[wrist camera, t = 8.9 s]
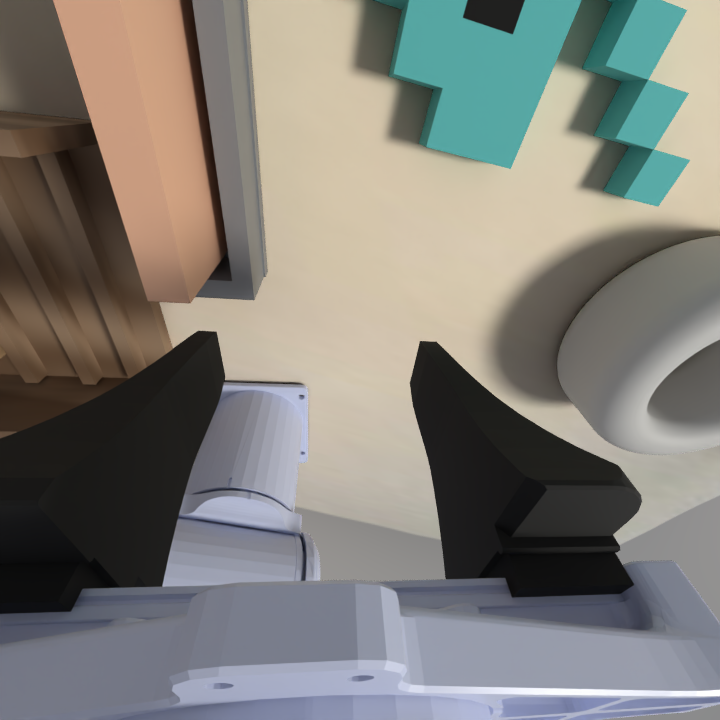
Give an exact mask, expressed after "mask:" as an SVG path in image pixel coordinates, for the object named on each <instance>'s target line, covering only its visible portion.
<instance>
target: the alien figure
mask: <svg viewBox="0 0 720 720" xmlns="http://www.w3.org/2000/svg"><path fill="white" fill-rule="evenodd" d="M373 1H377V2H380V3H383V4H386V5H389V6H392V7H395V8H398V9H401V10H402V12H401V17H400V22H399V27H398V31H397V36H396V41H395V46H394V51H393V56H392V61H391V66H390V71H389V77H393V78H396V79H400V80H403V81H406V82H410V83H413V84H417V85H420V86H424V87H427V88H431V89H433V92H432V96H431V100H430V104H429V107H428V111H427V115H426V118H425V122H424V126H423V130H422V133H421V137H420V141H419V144H421V145H423V146H425V147H428V148H432V149H436V150H440V151H444V152H447V153H451V154H455V155H459V156H463V157H467V158H471V159H475V160H479V161H483V162H486V163H490V164H494V165H498V166H502V167H506V168H510V169H511V167H512V164H513V162H514V160H515V157H516V155H517V153H518V150H519V148H520V145H521V143H522V141H523V138H524V136H525V134H526V131H527V129H528V126H529V124H530V122H531V119H532V117H533V115H534V112H535V110H536V108H537V105H538V103H539V100H540V98H541V96H542V93H543V91H544V89H545V86H546V84H547V81H548V79H549V77H550V74H551V72H552V70H553V67H554V65H555V62H556V60H557V58H558V55H559V53H560V51H561V48H562V46H563V43H564V41H565V39H566V36H567V34H568V32H569V29H570V27H571V24H572V22H573V20H574V17H575V15H576V13H577V10H578V8H579V5H580V3H581V1H582V0H373ZM606 1H609V2H612V5H611V7H610V9H609V11H608V13H607V15H606V18H605V20H604V22H603V24H602V26H601V28H600V31H599V33H598V35H597V37H596V39H595V42H594V44H593V46H592V48H591V50H590V52H589V55H588V57H587V59H586V61H585V63H584V65H583V68H582V69H584V70H588V71H591V72H594V73H597V74H600V75H603V76H606V77H609V78H612V79H615V80H618V81H621V84H620V86H619V88H618V90H617V92H616V94H615V95H614V97H613V99H612V101H611V103H610V105H609V107H608V109H607V111H606V113H605V115H604V116H603V118H602V120H601V122H600V124H599V126H598V128H597V130H596V132H595V134H594V136H597V137H600V138H604V139H607V140H610V141H614V142H617V143H621V144H624V145H628V146H629V147H628V149H627V151H626V152H625V154H624V156H623V158H622V159H621V161H620V163H619V164H618V166H617V168H616V170H615V171H614V173H613V175H612V176H611V178H610V180H609V182H608V183H607V185H606V187H605V188H604V190H603V191H605V192H608V193H611V194H614V195H617V196H620V197H623V198H627V199H631V200H635V201H638V202H642V203H646V204H650V205H654V206H659V205H660V203H661V202H662V200H663V199H664V197H665V196H666V194H667V193H668V191H669V190H670V189H671V187H672V186H673V184H674V183H675V181H676V180H677V178H678V177H679V176H680V174H681V173H682V171H683V170H684V168H685V167H686V165H687V164H688V162H689V161H690V160H688V159H684V158H681V157H677V156H674V155H670V154H667V153H664V152H660V151H657V150H654V148H655V147H656V145H657V143H658V142H659V140H660V139H661V137H662V135H663V134H664V132H665V131H666V129H667V127H668V126H669V124H670V123H671V121H672V119H673V118H674V116H675V115H676V113H677V111H678V110H679V108H680V107H681V105H682V103H683V102H684V100H685V99H686V97H687V95H688V94H689V93H686V92H683V91H680V90H677V89H674V88H671V87H668V86H665V85H662V84H659V83H656V82H653V81H650V80H648V79H649V78H650V76H651V74H652V72H653V70H654V69H655V67H656V65H657V63H658V61H659V60H660V58H661V56H662V54H663V52H664V51H665V49H666V47H667V45H668V43H669V42H670V40H671V38H672V36H673V34H674V33H675V31H676V29H677V27H678V25H679V24H680V22H681V20H682V18H683V16H684V15H685V13H686V11H687V10H685V9H683V8H680V7H678V6H675V5H672V4H670V3H667V2H665V1H662V0H606Z"/></svg>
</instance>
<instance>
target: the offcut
mask: <svg viewBox="0 0 720 720" xmlns="http://www.w3.org/2000/svg"><path fill="white" fill-rule="evenodd" d="M4 355H6V353H5V351H4V350H3V348H2V346H1V345H0V359H1V358H2V357H3V356H4Z"/></svg>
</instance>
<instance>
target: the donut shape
mask: <svg viewBox="0 0 720 720" xmlns="http://www.w3.org/2000/svg"><path fill="white" fill-rule="evenodd" d="M557 372H558V378H559V381H560V384H561V387H562V389H563V390H564V392H565V394H566V395H567V396H568V398H569V399H570V400H571V401H572V403H573V404H574V405H575V406H576V408H577V409H578V410H579V411H580V413H581V414H582V415H583V417H584V418H585V419H586V420H587V422H588V423H589V424H590V425H591V427H592V428H593V429H594V430H595V431H596V433H597V434H599V435H600V436H601V437H602V438H603V439H605V440H606V441H607V442H609V443H611V444H613V445H614V446H617V447H619V448H621V449H624V450H627V451H631V452H635V453H640V454H648V455H674V454H683V453H689V452H695V451H699V450H704V449H708V448H712V447H715V446H719V445H720V236H712V237H705V238H700V239H695V240H691V241H687V242H684V243H680V244H677V245H674V246H672V247H669V248H666V249H664V250H661V251H659V252H657V253H655V254H653V255H651V256H649V257H647V258H645V259H643V260H641V261H639V262H637V263H636V264H634V265H632V266H631V267H629V268H628V269H626V270H625V271H623V272H622V273H620V274H619V275H617V276H616V277H615V278H613V279H612V280H611V281H610V282H608V283H607V284H606V285H605V286H604V287H602V288H601V289H600V290H599V291H598V292H597V293H596V294H595V295H594V296H593V297H592V298H591V299H590V300H589V301H588V302H587V303H586V304H585V306H584V307H583V308H582V309H581V310H580V312H579V313H578V314H577V316H576V317H575V318H574V320H573V321H572V323H571V325H570V326H569V328H568V330H567V332H566V334H565V336H564V338H563V340H562V343H561V346H560V350H559V354H558V360H557Z"/></svg>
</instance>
